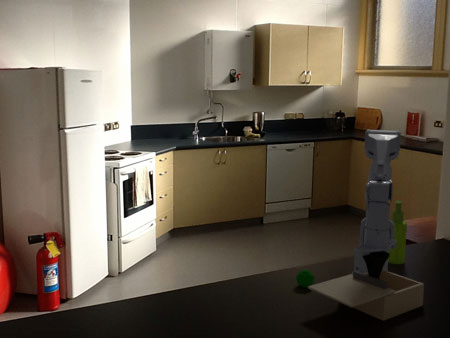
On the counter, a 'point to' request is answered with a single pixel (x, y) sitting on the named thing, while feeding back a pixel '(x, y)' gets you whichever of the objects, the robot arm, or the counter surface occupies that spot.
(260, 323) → the counter surface
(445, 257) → the counter surface
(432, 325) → the counter surface
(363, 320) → the counter surface
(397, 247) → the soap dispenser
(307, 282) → the green ball
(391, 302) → the carton
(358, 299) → the carton lid
